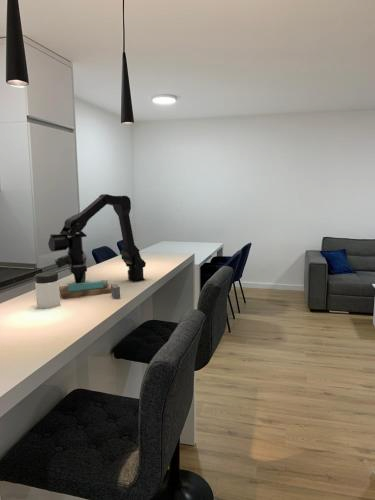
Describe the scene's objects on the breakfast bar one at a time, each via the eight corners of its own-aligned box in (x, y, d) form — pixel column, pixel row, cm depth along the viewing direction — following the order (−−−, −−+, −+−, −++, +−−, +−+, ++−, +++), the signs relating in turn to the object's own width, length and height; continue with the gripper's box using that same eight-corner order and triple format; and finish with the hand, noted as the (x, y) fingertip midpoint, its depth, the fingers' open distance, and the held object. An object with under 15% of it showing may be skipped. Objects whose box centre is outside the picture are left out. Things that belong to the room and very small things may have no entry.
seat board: (106, 285, 179) (106, 281, 179) (111, 292, 166) (111, 288, 166) (59, 291, 172) (59, 286, 172) (61, 299, 159) (61, 294, 159)
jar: (62, 306, 149) (59, 274, 147) (38, 310, 145) (35, 277, 143) (58, 300, 157) (55, 270, 155) (36, 304, 153) (33, 273, 151)
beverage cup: (84, 284, 182) (80, 241, 179) (69, 284, 184) (65, 241, 181) (91, 280, 189) (87, 239, 186) (76, 280, 191) (73, 239, 188)
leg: (107, 285, 169) (106, 279, 168) (108, 287, 166) (108, 281, 166) (68, 290, 163) (67, 284, 163) (68, 291, 161) (68, 285, 160)
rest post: (117, 294, 163) (116, 283, 162) (120, 298, 157) (119, 287, 157) (111, 295, 162) (110, 284, 161) (114, 299, 156) (113, 287, 156)
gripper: (54, 247, 172) (57, 282, 174) (56, 253, 154) (59, 292, 157) (80, 245, 175) (83, 280, 178) (85, 250, 158) (88, 289, 161)
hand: (78, 285), depth 168 cm, fingers closed
